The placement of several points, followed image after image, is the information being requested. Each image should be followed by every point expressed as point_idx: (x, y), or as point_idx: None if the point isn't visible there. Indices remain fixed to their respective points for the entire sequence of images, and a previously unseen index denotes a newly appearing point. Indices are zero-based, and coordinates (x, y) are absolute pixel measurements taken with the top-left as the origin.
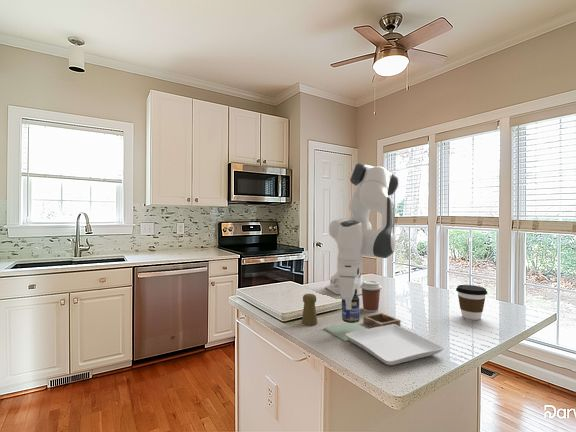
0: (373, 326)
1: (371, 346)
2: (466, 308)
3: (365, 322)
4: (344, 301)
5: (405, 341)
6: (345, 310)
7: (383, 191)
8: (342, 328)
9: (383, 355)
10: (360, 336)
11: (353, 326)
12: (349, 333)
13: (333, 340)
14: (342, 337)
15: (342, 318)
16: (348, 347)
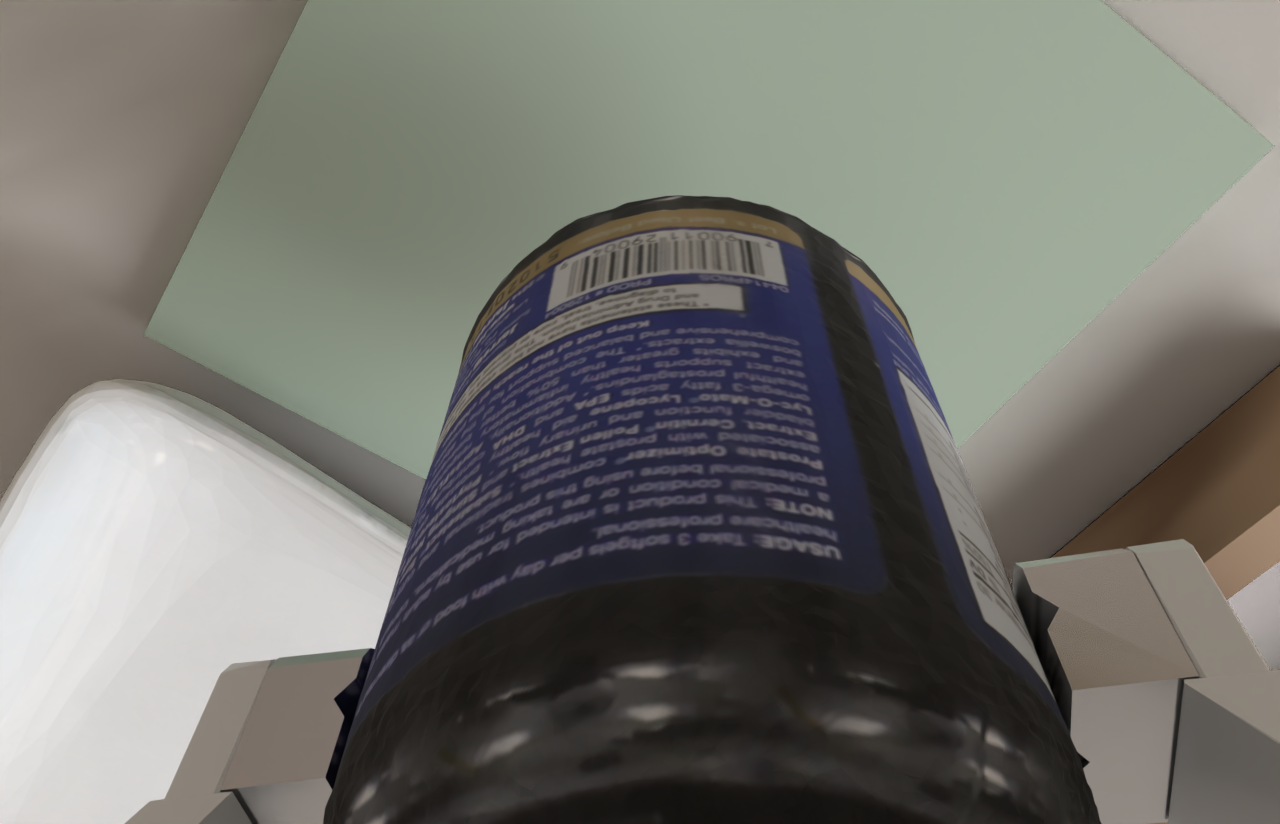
0: (1083, 552)
1: (215, 678)
2: None
3: (1272, 400)
4: (351, 744)
5: None
6: (411, 528)
7: None
8: (705, 80)
9: (65, 813)
10: (368, 538)
11: (933, 259)
12: (206, 433)
13: (59, 88)
14: (218, 244)
15: (541, 252)
16: (6, 408)
